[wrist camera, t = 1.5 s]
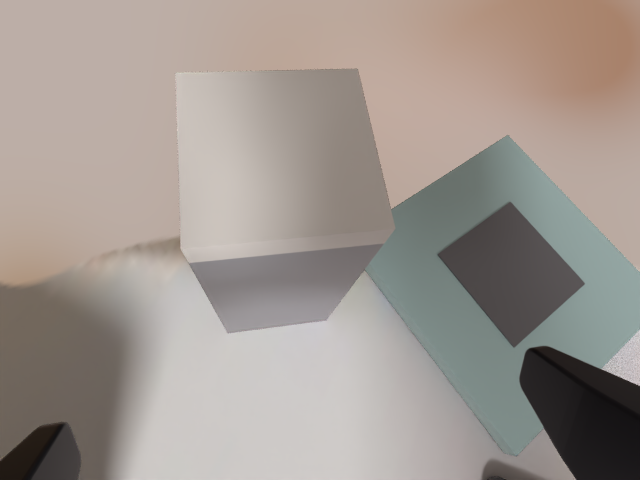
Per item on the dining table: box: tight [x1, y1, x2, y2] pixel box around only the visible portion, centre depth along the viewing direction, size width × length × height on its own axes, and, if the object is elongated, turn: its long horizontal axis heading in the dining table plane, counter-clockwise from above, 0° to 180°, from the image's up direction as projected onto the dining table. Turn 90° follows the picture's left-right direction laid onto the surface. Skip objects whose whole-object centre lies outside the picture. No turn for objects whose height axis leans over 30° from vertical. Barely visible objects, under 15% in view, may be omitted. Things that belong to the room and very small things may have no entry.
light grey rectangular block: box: [175, 69, 396, 333], centre depth 16 cm, size 5×5×12 cm
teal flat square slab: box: [365, 135, 640, 456], centre depth 22 cm, size 13×13×1 cm
